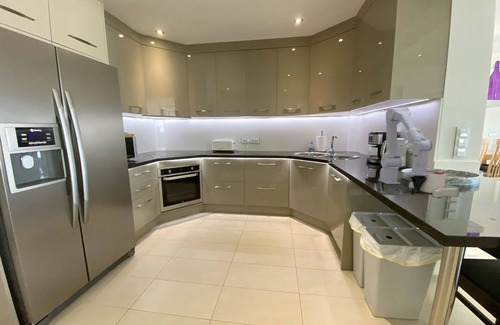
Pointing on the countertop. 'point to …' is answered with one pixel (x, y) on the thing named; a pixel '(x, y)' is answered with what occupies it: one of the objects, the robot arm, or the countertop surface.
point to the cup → (433, 182)
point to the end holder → (450, 190)
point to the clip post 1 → (411, 185)
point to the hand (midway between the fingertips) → (416, 190)
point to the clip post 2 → (437, 193)
